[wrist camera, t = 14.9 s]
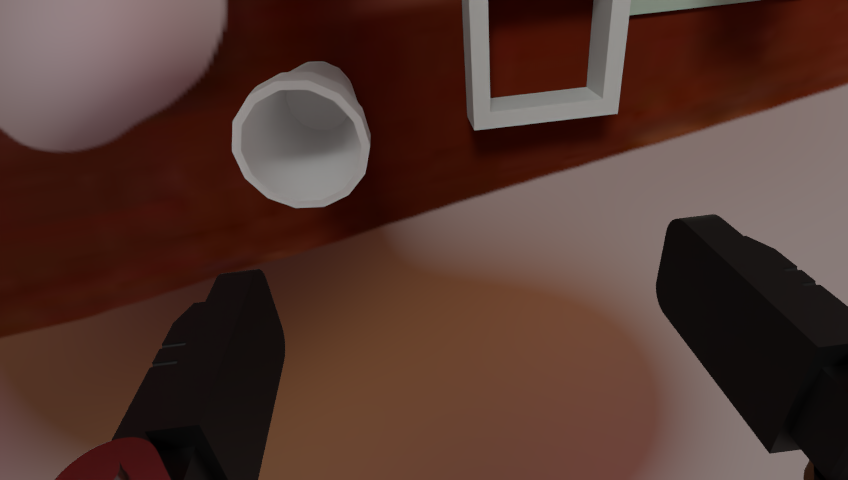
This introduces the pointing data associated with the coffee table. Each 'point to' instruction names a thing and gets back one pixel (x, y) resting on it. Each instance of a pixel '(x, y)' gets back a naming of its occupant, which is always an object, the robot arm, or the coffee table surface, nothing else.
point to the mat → (674, 5)
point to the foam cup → (302, 137)
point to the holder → (551, 105)
